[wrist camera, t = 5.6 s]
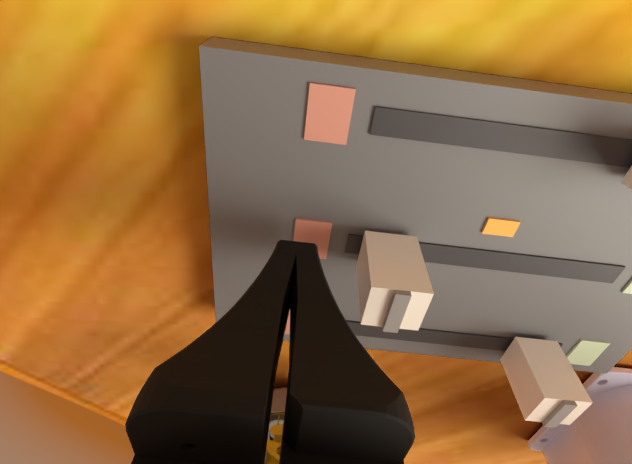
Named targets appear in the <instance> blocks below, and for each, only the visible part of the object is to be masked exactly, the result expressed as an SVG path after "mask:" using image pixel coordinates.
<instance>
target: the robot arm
mask: <svg viewBox="0 0 632 464" xmlns="http://www.w3.org/2000/svg"><path fill="white" fill-rule="evenodd" d="M289 311H290V351H289V376H288V386H287V395H286V404H285V414H284V423H283V432H282V441H281V451H280V460H279V464H404V461H403V460H404V458H405V456H406V455H407V453H408V451H409V450H410V448H411V446H412V444H413V442H414V439H415V434H414V426H413V422H412V418H411V415H410V412H409V408H408V405H407V403H406V400H405V397H404V395H403V392H402V391H401V390H400V389H399V388H398V387H397V386H396V385H395V384H394V383H393V382H392V381H391V380H390V379H389V378H388V377H387V376H386V374H385V373H384V372H383V371H382V370H381V369H380V367H379V366H378V365H377V364H376V363H375V361H374V360H373V359H372V358H371V356H370V355H369V354H368V352H367V351H366V350H365V348H364V347H363V346H362V344H361V343H360V342H359V340H358V339H357V337H356V336H355V334H354V333H353V331H352V330H351V328H350V326H349V325H348V323H347V321H346V320H345V318H344V316H343V314H342V313H341V311H340V309H339V307H338V305H337V303H336V301H335V299H334V297H333V294H332V292H331V290H330V288H329V285H328V282H327V280H326V277H325V275H324V272H323V269H322V265H321V262H320V258H319V254H318V247H317V245H316V244H315V243H306V242H297V241H289V240H279V241H278V242H277V244H276V247H275V249H274V251H273V253H272V255H271V256H270V258H269V260H268V261H267V263H266V265H265V266H264V268H263V269H262V271H261V272H260V274H259V275H258V277H257V278H256V279H255V281H254V282H253V283H252V284H251V286H250V287H249V288H248V289H247V291H246V292H245V293H244V294H243V296H242V297H241V298H240V299H239V300H238V301H237V302H236V303H235V304H234V306H233V307H232V308H231V309H230V310H229V311H228V312H227V313H226V314H225V315H224V316H223V317H222V318H220V319H219V320H218V321H217V322H216V323H215V324H214V325H213V326H212V327H211V328H210V329H208V330H207V331H206V332H205V333H203V334H202V335H201V336H200V337H198V338H197V339H196V340H195V341H193V342H192V343H191V344H190V345H188V346H187V347H186V348H184V349H183V350H181V351H180V352H179V353H177V354H176V355H174V356H173V357H171V358H170V359H168V360H167V361H165V362H164V363H162V364H161V365H159V366H157V367H156V368H155V369H154V370H153V372H152V373H151V375H150V376H149V378H148V379H147V381H146V382H145V384H144V386H143V387H142V389H141V391H140V393H139V394H138V396H137V398H136V400H135V402H134V405H133V407H132V409H131V412H130V414H129V417H128V419H127V421H126V424H125V425H126V432H127V434H128V437H129V440H130V442H131V445H132V448H133V450H134V453H135V456H134V458H133V461H132V463H131V464H264V463H265V455H266V447H267V440H268V432H269V424H270V416H271V408H272V400H273V393H274V385H275V377H276V371H277V365H278V360H279V356H280V351H281V347H282V342H283V338H284V333H285V329H286V324H287V320H288V316H289ZM582 385H583V386H584V388H585V390H586V392H587V393H588V395H589V397H590V399H591V400H592V402H593V403H592V404H591V405H590V406H589V407H588V408H587V409H586V410H585V411H584V412H583V413H582V414H581V415H580V416H579V417H578V418H577V419H576V420H575V421H573V422H572V423H571V424H570V425H566V424H559V425H558V426H557V427H556V428H550V427H544V426H542V427H541V428H540V429H539V430H538V431H537V432H536V433H535V434H534V435H533V436H532V437H531V439H530V440H529V441H528V442H527V443H528V446H529V448H530V449H531V450H537V451H542V452H543V454H544V457H545V459H546V461H547V464H632V369H628V368H619V367H613V368H612V369H611V370H610V371H609V372H608V373H607V374H605V373H595V372H594V373H593V374H592V375H591V376H590V377H589V378H588V379H587V380H586V381H585V382H584V383H583V384H582Z"/></svg>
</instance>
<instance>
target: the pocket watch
mask: <svg viewBox="0 0 632 464" xmlns="http://www.w3.org/2000/svg"><path fill="white" fill-rule="evenodd" d="M286 395H287V388H286V387H283V388H277V389H274V393H273V400H272V408H271V416H270V424H269V432H268V440H267V447H266V455H265V463H264V464H279V460H280V451H281V441H282V432H283V423H284V414H285V404H286Z"/></svg>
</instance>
